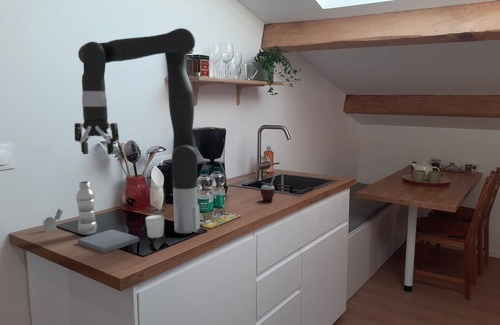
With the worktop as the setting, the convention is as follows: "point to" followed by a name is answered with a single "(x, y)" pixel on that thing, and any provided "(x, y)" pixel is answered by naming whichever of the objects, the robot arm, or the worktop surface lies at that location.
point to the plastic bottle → (86, 209)
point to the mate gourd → (268, 191)
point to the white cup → (155, 226)
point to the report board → (108, 240)
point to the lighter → (52, 222)
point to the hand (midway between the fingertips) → (97, 154)
